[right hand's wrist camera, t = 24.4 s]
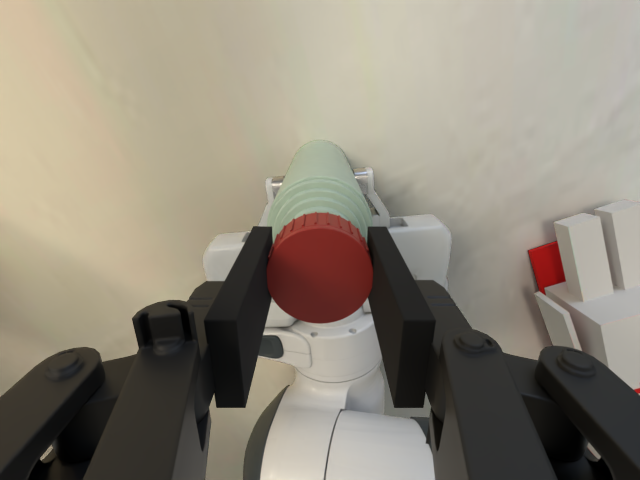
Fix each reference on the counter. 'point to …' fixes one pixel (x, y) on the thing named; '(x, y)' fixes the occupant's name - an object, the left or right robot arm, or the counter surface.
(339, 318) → the cap
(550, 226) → the counter surface
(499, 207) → the counter surface
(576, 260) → the toy
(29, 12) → the counter surface
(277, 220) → the bottle
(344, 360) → the left robot arm
